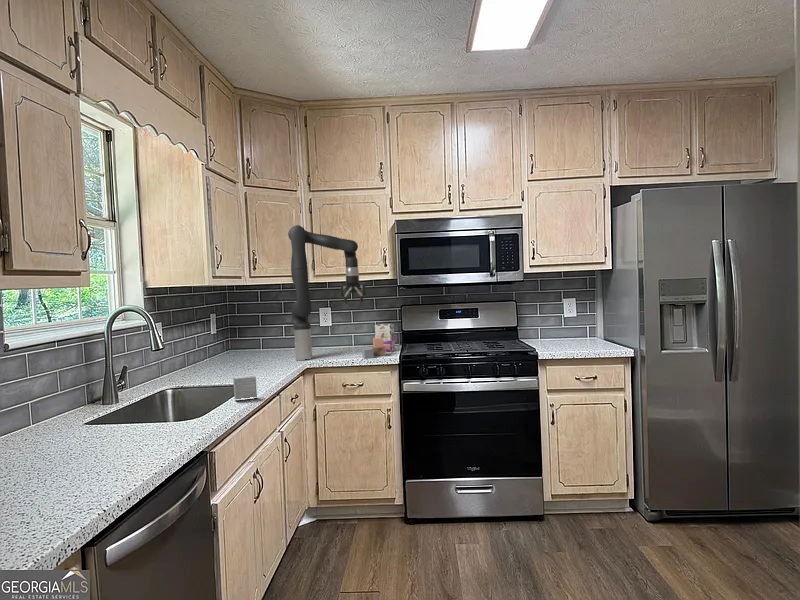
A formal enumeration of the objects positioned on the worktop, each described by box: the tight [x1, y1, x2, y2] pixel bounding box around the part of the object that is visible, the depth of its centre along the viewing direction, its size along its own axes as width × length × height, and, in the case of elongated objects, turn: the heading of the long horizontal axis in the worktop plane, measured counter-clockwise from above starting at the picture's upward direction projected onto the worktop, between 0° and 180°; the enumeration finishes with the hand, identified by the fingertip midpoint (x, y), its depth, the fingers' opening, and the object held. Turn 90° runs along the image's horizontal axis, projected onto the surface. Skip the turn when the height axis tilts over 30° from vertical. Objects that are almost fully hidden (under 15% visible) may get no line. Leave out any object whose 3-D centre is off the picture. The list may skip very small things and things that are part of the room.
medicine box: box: [232, 374, 258, 400], centre depth 208 cm, size 8×4×9 cm, turn 113°
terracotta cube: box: [372, 337, 383, 348], centre depth 311 cm, size 5×5×5 cm
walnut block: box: [371, 346, 386, 357], centre depth 311 cm, size 7×7×5 cm
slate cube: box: [361, 348, 375, 360], centre depth 303 cm, size 5×5×5 cm
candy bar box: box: [374, 323, 396, 353], centre depth 328 cm, size 11×5×16 cm, turn 62°
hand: (353, 303), depth 318 cm, fingers open, 8 cm apart
